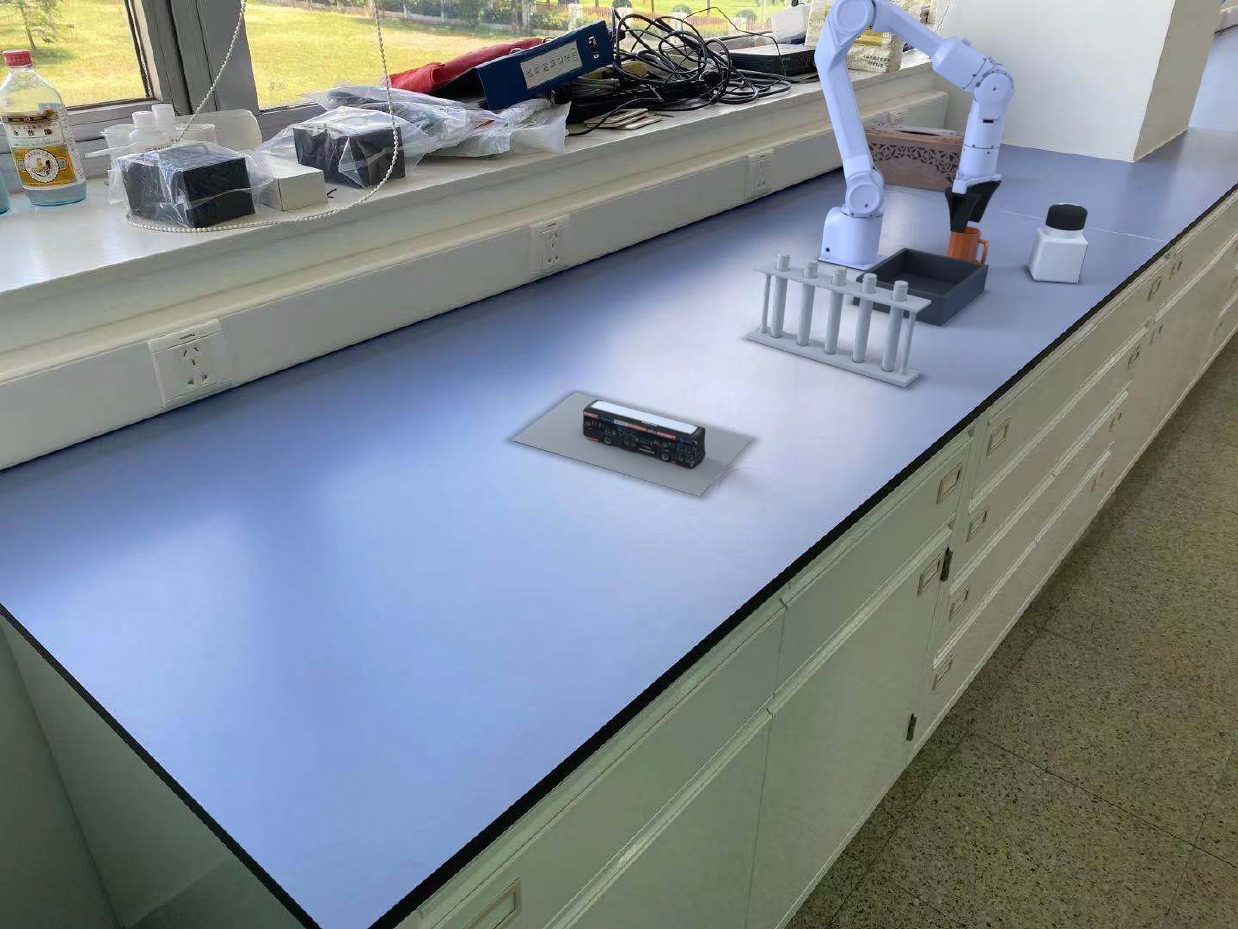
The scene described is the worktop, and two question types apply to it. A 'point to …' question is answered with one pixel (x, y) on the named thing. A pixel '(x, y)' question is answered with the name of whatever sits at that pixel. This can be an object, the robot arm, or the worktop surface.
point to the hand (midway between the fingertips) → (965, 226)
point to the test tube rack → (838, 319)
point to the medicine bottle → (1060, 245)
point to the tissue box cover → (915, 154)
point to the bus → (635, 442)
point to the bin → (930, 282)
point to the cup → (966, 245)
